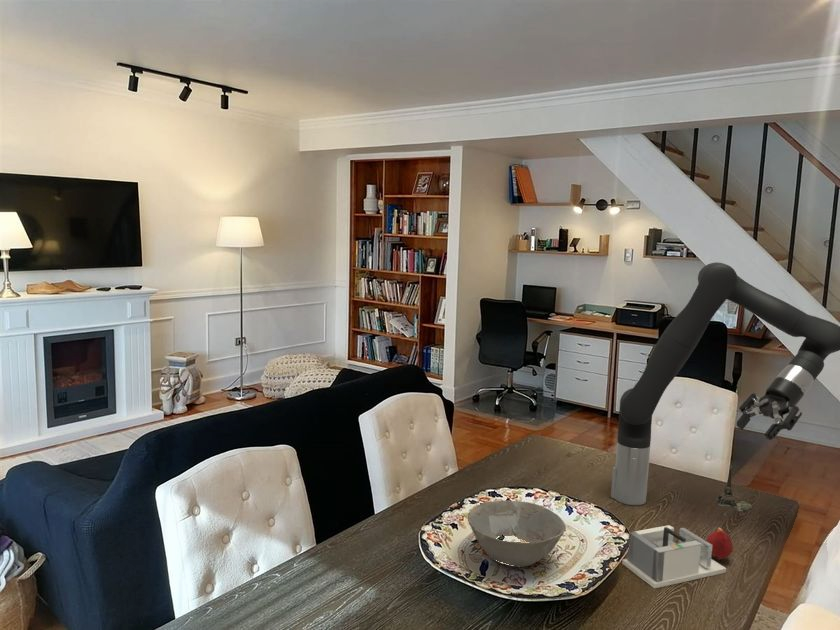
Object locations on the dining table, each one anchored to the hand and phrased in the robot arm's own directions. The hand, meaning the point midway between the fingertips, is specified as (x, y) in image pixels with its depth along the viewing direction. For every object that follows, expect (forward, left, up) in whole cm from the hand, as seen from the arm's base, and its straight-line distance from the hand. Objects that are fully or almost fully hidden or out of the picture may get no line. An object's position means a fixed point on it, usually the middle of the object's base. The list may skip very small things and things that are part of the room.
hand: (752, 432), depth 159 cm
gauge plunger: (-8, -27, -27) cm, 39 cm away
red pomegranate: (-2, -16, -29) cm, 33 cm away
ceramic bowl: (-40, -50, -29) cm, 70 cm away
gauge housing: (-9, -28, -29) cm, 41 cm away
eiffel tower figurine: (-8, +20, -29) cm, 37 cm away
